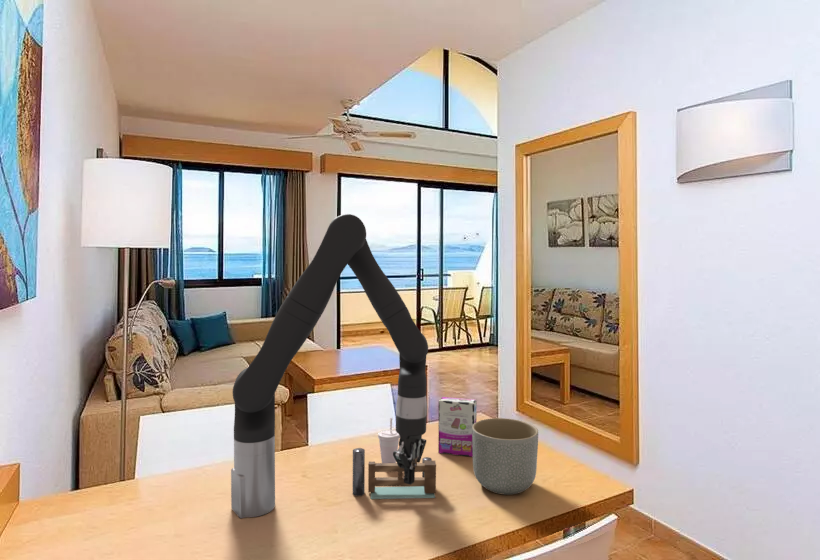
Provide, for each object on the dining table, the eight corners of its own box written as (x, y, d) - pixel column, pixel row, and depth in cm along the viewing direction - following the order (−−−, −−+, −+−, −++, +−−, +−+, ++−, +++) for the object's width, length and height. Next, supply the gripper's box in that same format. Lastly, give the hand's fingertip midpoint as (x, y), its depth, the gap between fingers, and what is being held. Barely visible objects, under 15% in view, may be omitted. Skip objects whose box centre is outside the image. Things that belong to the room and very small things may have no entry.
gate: (368, 493, 125) (368, 465, 125) (368, 488, 128) (368, 460, 128) (435, 493, 126) (436, 465, 125) (434, 488, 128) (435, 460, 128)
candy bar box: (476, 451, 155) (477, 399, 154) (474, 457, 150) (474, 403, 149) (441, 447, 158) (441, 395, 157) (437, 453, 153) (438, 400, 152)
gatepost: (356, 497, 124) (356, 453, 124) (350, 492, 127) (350, 449, 126) (366, 493, 126) (367, 450, 126) (360, 489, 129) (360, 447, 128)
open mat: (370, 499, 124) (370, 498, 124) (371, 487, 130) (371, 487, 130) (435, 497, 124) (435, 497, 124) (432, 486, 130) (432, 486, 130)
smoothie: (399, 471, 140) (399, 422, 139) (376, 471, 140) (376, 421, 139) (400, 462, 146) (400, 414, 145) (378, 462, 146) (378, 414, 145)
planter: (534, 506, 121) (535, 443, 120) (465, 495, 126) (465, 435, 125) (539, 477, 137) (540, 421, 136) (478, 468, 142) (479, 415, 141)
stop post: (426, 488, 130) (426, 461, 129) (420, 484, 131) (420, 458, 131) (433, 485, 131) (433, 459, 131) (427, 482, 133) (427, 456, 133)
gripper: (411, 422, 115) (408, 497, 116) (437, 409, 127) (435, 477, 127) (383, 416, 119) (381, 489, 120) (411, 404, 130) (409, 470, 131)
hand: (409, 482), depth 123 cm, fingers closed
